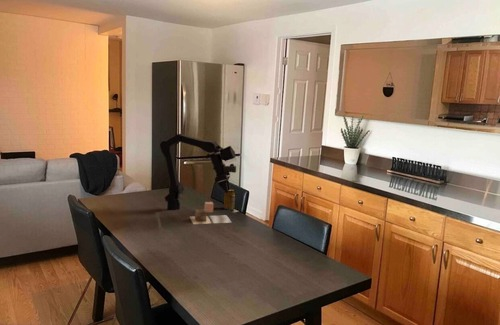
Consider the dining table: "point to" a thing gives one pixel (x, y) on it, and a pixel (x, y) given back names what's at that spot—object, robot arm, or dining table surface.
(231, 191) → the condiment
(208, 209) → the salmon orange block
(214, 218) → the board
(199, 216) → the walnut block
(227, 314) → the dining table surface
